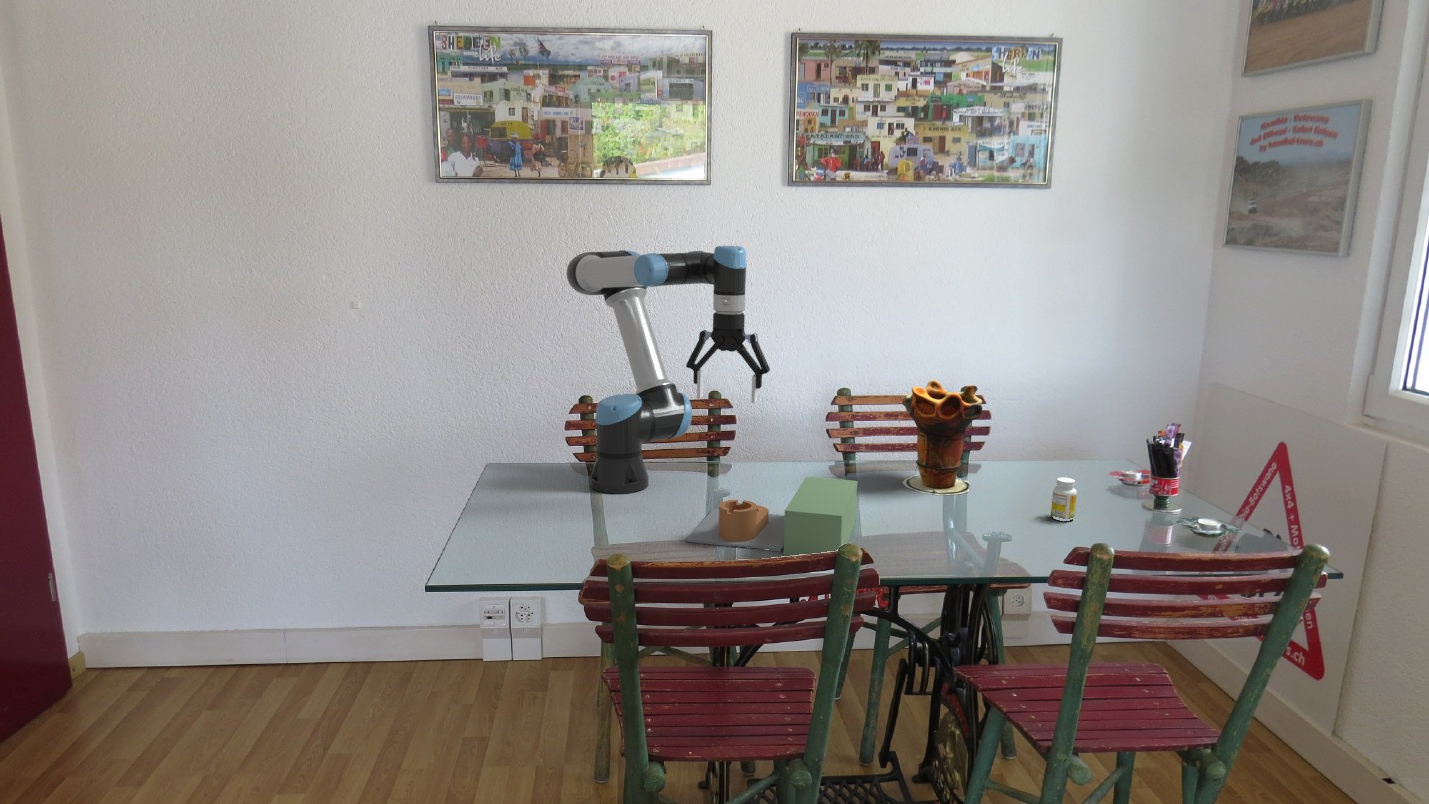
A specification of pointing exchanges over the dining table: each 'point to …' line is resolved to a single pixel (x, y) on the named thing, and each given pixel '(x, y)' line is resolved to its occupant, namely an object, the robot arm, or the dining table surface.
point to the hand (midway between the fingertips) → (726, 399)
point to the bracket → (741, 520)
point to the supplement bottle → (1064, 499)
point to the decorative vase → (940, 436)
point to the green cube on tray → (799, 520)
